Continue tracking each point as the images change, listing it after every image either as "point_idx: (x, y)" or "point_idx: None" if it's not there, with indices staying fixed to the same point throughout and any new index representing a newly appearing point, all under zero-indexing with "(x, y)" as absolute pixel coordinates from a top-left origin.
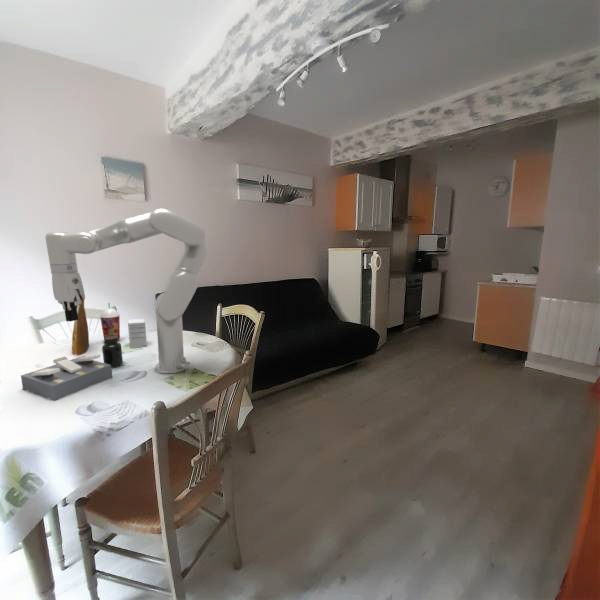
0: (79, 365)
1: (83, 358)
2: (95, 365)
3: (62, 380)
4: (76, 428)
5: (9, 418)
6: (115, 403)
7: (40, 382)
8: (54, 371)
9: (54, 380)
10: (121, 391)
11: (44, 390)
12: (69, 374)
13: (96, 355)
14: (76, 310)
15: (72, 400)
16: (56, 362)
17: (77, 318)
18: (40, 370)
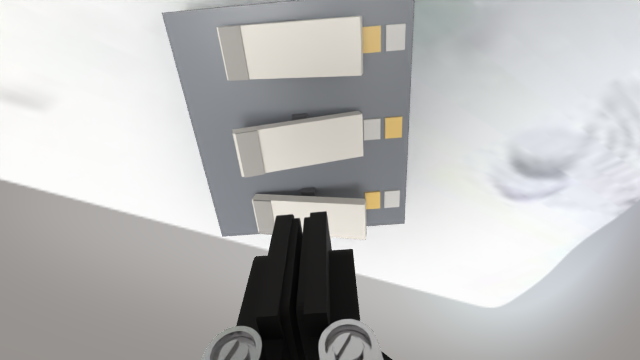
0: (288, 82)
1: (303, 76)
2: None
3: (391, 192)
4: (575, 230)
5: (388, 276)
6: (585, 118)
7: None
8: (365, 218)
9: (367, 205)
10: (542, 54)
11: None
12: None
13: (348, 29)
14: (327, 295)
15: (439, 172)
16: (264, 171)
17: (327, 221)
18: (273, 216)
